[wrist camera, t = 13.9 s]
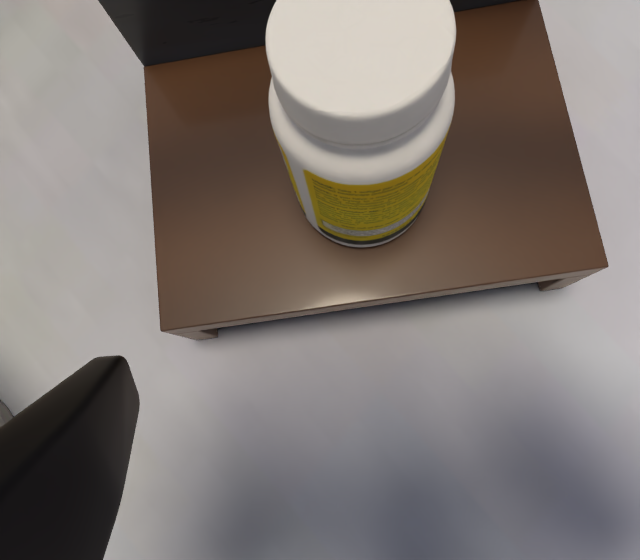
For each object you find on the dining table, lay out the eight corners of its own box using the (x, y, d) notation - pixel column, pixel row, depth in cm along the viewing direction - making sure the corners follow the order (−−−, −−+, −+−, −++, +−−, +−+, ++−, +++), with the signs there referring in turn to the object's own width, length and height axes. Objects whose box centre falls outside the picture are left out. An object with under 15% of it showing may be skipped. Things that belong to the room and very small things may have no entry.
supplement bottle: (453, 192, 18) (529, 34, 10) (355, 276, 18) (349, 184, 9) (366, 105, 19) (368, -105, 11) (272, 183, 19) (201, 27, 10)
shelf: (563, 288, 21) (709, 220, 12) (196, 340, 22) (83, 312, 13) (504, 42, 23) (589, -161, 15) (177, 99, 24) (72, -62, 15)
